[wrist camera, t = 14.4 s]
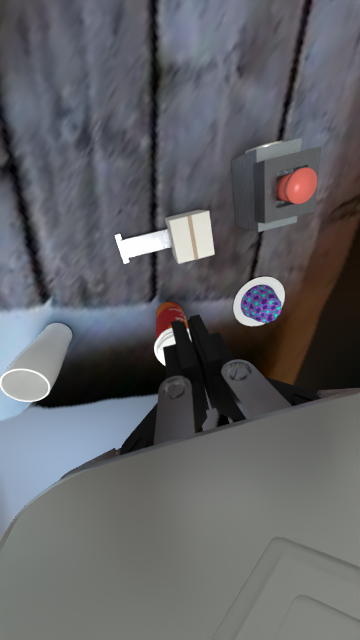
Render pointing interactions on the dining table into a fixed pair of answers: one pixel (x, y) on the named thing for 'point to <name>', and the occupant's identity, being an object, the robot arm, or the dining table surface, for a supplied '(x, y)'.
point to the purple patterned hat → (259, 301)
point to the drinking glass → (37, 365)
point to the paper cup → (167, 327)
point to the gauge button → (296, 186)
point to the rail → (143, 243)
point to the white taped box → (190, 235)
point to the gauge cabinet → (269, 184)
